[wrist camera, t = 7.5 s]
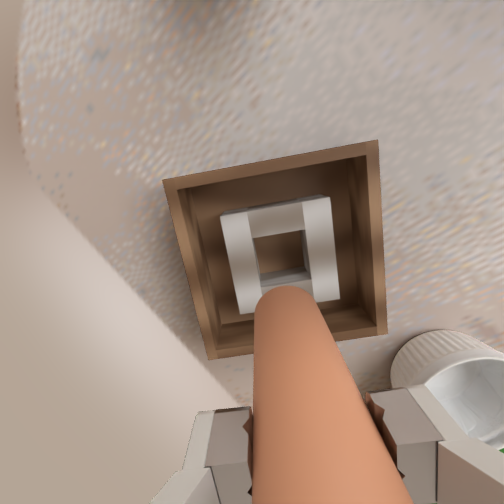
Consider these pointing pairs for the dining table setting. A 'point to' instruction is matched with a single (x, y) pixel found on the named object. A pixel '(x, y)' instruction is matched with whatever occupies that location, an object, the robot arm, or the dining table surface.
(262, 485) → the peg
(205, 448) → the robot arm
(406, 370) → the ramekin
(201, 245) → the box
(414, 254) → the dining table surface
